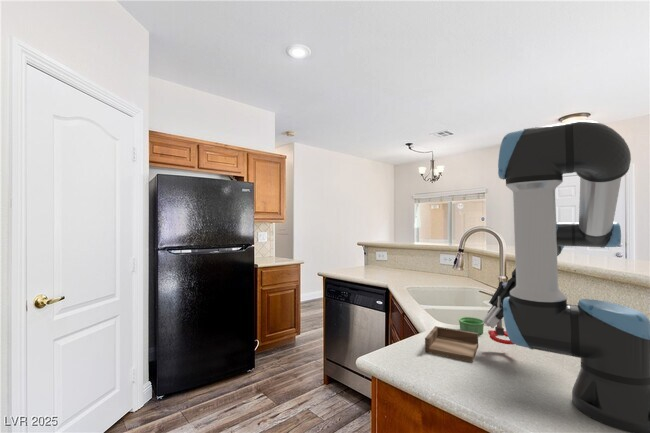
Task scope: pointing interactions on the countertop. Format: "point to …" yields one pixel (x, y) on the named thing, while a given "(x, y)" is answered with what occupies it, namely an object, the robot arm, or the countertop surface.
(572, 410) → the countertop surface
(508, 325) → the robot arm
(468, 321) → the ramekin
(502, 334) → the tow hook
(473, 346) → the wooden tray
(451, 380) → the countertop surface
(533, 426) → the countertop surface
